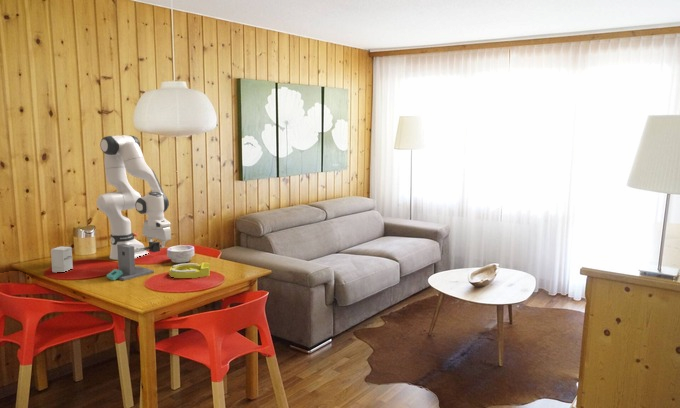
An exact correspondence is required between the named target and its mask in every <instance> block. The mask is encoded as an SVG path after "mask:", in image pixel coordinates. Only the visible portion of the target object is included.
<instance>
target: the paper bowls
mask: <svg viewBox="0 0 680 408" xmlns="http://www.w3.org/2000/svg"><path fill="white" fill-rule="evenodd" d="M166 256H167V258H168V259H170V260H171V262H173V263H176V264H185V263H188V262H190V261H191V260H192V257H194V256H195V246H193V245H189V244H185V245H183V244H180V245H174V246H170V247H168V248H167V249H166Z"/></svg>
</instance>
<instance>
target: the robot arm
mask: <svg viewBox="0 0 680 408" xmlns="http://www.w3.org/2000/svg"><path fill="white" fill-rule="evenodd" d="M99 145H100V150H101V151H102V153H103V154H104V160H103V161H104V171H105V179H106V182H107V183H108V184H109V185H110V186H113V187H115V189H116V191H114V192H106V193H103V194H99V196H98V197H97V199H96V207H97V208H98V209H99V210H100V212H102V213H103V214H105V215H106V216H107V219H108V221H109V225H110V243H111V244H110V245H111V246H110V254H109V260H116V261H118V250H117V245H119V244H126V245H130V246H134V250H135V249H140V248H144V247H145V245H144V243H143V242H141V241H139V240H137V239H136V237H138V233H136V232H134V233H133V232H132V222H131V220H130V218H129V217H127V216H124V215H123V213H122V211H126V210H134V209H135V210H136V212H137V213H139V214H140V215H147V219H145V220H144V221H143V225H142V236H143V237H146V238H147V241H148V243H149V242H153V239H154V240H155V239H156V240H159V241H160V242H161V243H160V249H163V248H165V246H166V245H165V244H166V242H168V241H171V239H172V229H171V222H170V221H169V220H168V219H167V218H166V217H165V213H166V211H167V209H168V208H169V207H170V202H169V199H168V197H167V196H166V194H165V192H164V190H163V188H162V185H161V183H160V181H159V179H158V177H157V174H156V173H155V171H154V170H153V169H152V168H151V167H149V165H148V164H147V162H146V160H145V156H144V154H143V151H142V149H141V141H140V140H139V138H138V137H136V136H134V135H126V134H125V135H124V134H120V135H106V136H104V137H102V139H101V140H100V144H99ZM127 173H128V174H129V175H130V176H131V177H134V178H138V179H141V180H144V181H145V182H146V183H147V184H148V185H149V187H150V189H151V191H150V192H148V193H147V194H146V195H144V196H142V195H141V194H140V192H139V191H137V190H136V189H134V188H133V187H132V185H131V184H130V182H129V180H128V176H127ZM148 253H149V254H150V251H149V250H144V251H140V252H135V253H134V256H135V259H138V258H140V257H139V256H141V257H144V256H146V255H145V254H147V255H149V254H148ZM143 255H144V256H143ZM137 257H138V258H137Z"/></svg>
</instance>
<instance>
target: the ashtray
mask: <svg viewBox="0 0 680 408" xmlns="http://www.w3.org/2000/svg"><path fill="white" fill-rule="evenodd" d="M210 273H211V263H210V262H201V263H200V264H198V263H197V262H196V263H194V262H193V263H191V262H190V263H188V262H184V263H176V264H174V265H172V266H171V267H170V268H169V270H168V276H169V275H170V276H171V277H174V278H192V279H197V278H198V277H200V278H205V276H206V277H210V275H211V274H210ZM170 276H169V277H170ZM171 277H170V278H171ZM174 278H173V279H174ZM198 279H199V278H198Z"/></svg>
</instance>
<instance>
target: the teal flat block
mask: <svg viewBox="0 0 680 408" xmlns="http://www.w3.org/2000/svg"><path fill="white" fill-rule="evenodd" d="M108 273H109V274H108ZM108 273H107V274H106V277H107V279H108V280H112V281H116V280H118V279H117V278H118V277H120V276H121V275H122V274H123V273H122V271H121V270H119V269H117V268H114V269H112V271H110V272H108Z"/></svg>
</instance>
